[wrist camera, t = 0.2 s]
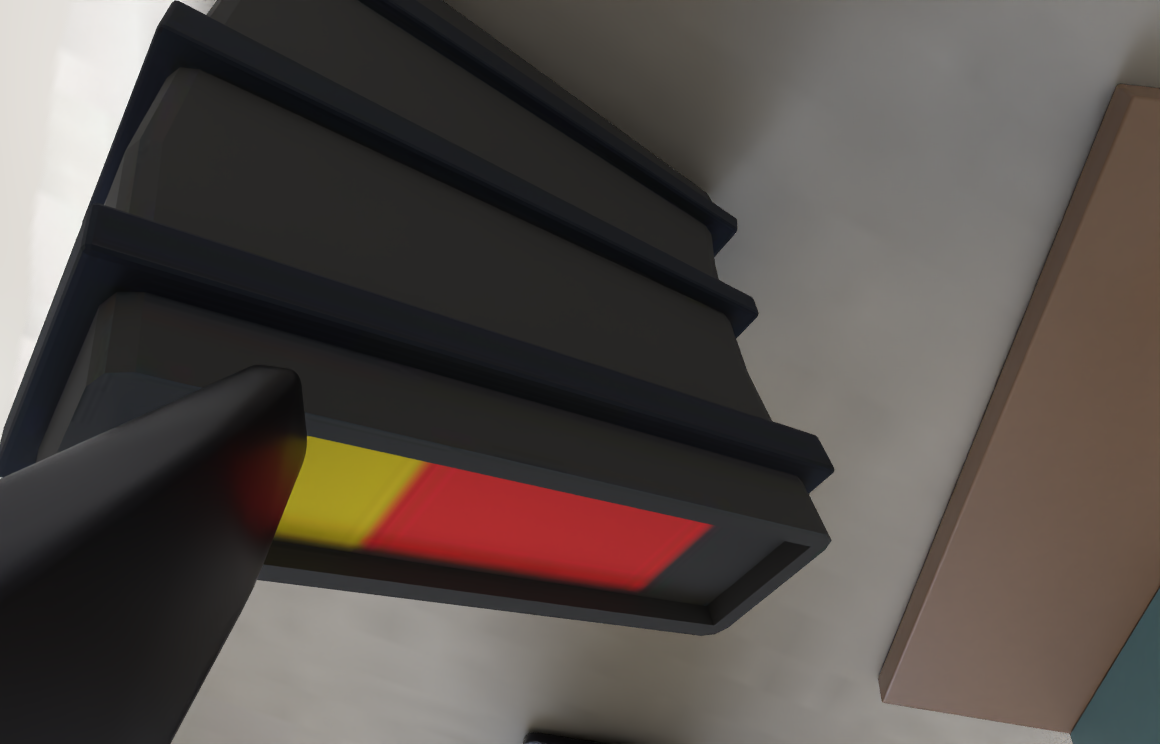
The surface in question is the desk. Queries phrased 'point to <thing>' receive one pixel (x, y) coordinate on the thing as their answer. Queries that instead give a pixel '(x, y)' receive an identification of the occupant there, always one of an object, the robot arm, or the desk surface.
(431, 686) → the desk surface
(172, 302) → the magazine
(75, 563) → the robot arm
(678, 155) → the desk surface
